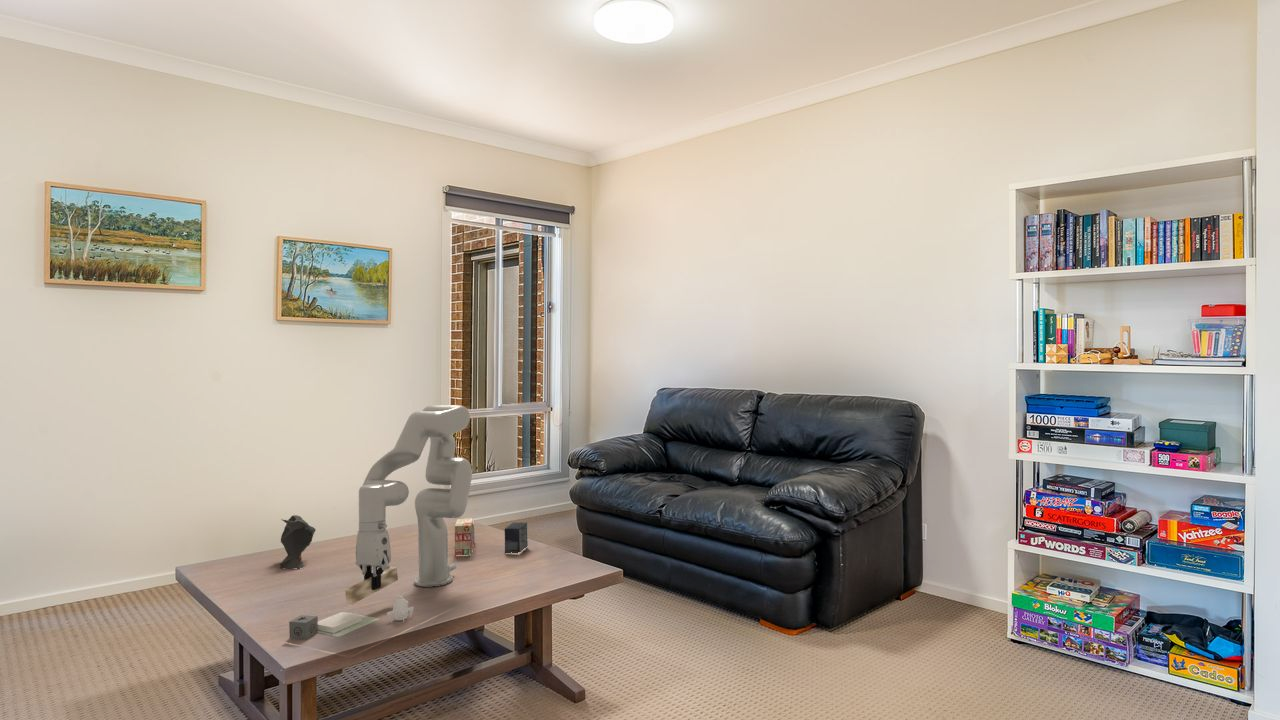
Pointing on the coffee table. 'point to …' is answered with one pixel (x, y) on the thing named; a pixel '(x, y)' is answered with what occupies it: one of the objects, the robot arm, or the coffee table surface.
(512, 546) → the small box
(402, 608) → the rocket toy
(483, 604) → the coffee table surface
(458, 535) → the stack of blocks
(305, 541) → the dark grey sculpture
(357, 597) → the tan wavy bar
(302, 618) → the dice cube
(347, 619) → the cream tile
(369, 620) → the sage mat
